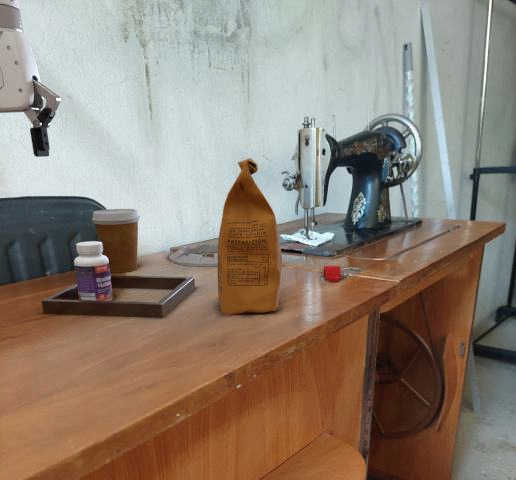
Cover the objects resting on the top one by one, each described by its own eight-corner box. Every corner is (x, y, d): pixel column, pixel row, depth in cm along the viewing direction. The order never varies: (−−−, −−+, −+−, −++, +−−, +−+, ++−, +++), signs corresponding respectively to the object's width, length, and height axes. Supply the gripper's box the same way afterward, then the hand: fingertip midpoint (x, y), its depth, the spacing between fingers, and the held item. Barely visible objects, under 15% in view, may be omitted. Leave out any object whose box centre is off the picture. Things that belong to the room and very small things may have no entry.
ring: (203, 270, 106) (203, 260, 106) (153, 258, 120) (152, 249, 119) (271, 256, 119) (271, 248, 118) (219, 246, 132) (218, 238, 131)
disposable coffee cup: (88, 271, 108) (80, 212, 104) (124, 263, 115) (117, 207, 111) (119, 276, 103) (112, 214, 98) (154, 267, 110) (149, 209, 106)
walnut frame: (43, 316, 79) (41, 300, 78) (95, 288, 94) (93, 274, 94) (162, 320, 76) (161, 304, 75) (195, 290, 91) (194, 277, 90)
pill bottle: (104, 307, 83) (96, 246, 79) (73, 306, 84) (64, 245, 80) (118, 298, 88) (112, 240, 84) (89, 297, 89) (81, 240, 85)
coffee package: (282, 295, 87) (281, 157, 79) (281, 318, 76) (280, 158, 68) (223, 296, 88) (217, 158, 80) (214, 318, 76) (205, 160, 68)
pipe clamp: (322, 272, 103) (322, 261, 102) (336, 272, 103) (337, 261, 102) (326, 282, 95) (326, 270, 95) (341, 282, 95) (342, 270, 94)
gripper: (-81, 22, 71) (-51, 158, 77) (35, 15, 68) (56, 156, 75) (-43, 33, 78) (-18, 157, 84) (64, 27, 75) (81, 155, 81)
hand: (16, 156), depth 79 cm, fingers open, 7 cm apart
